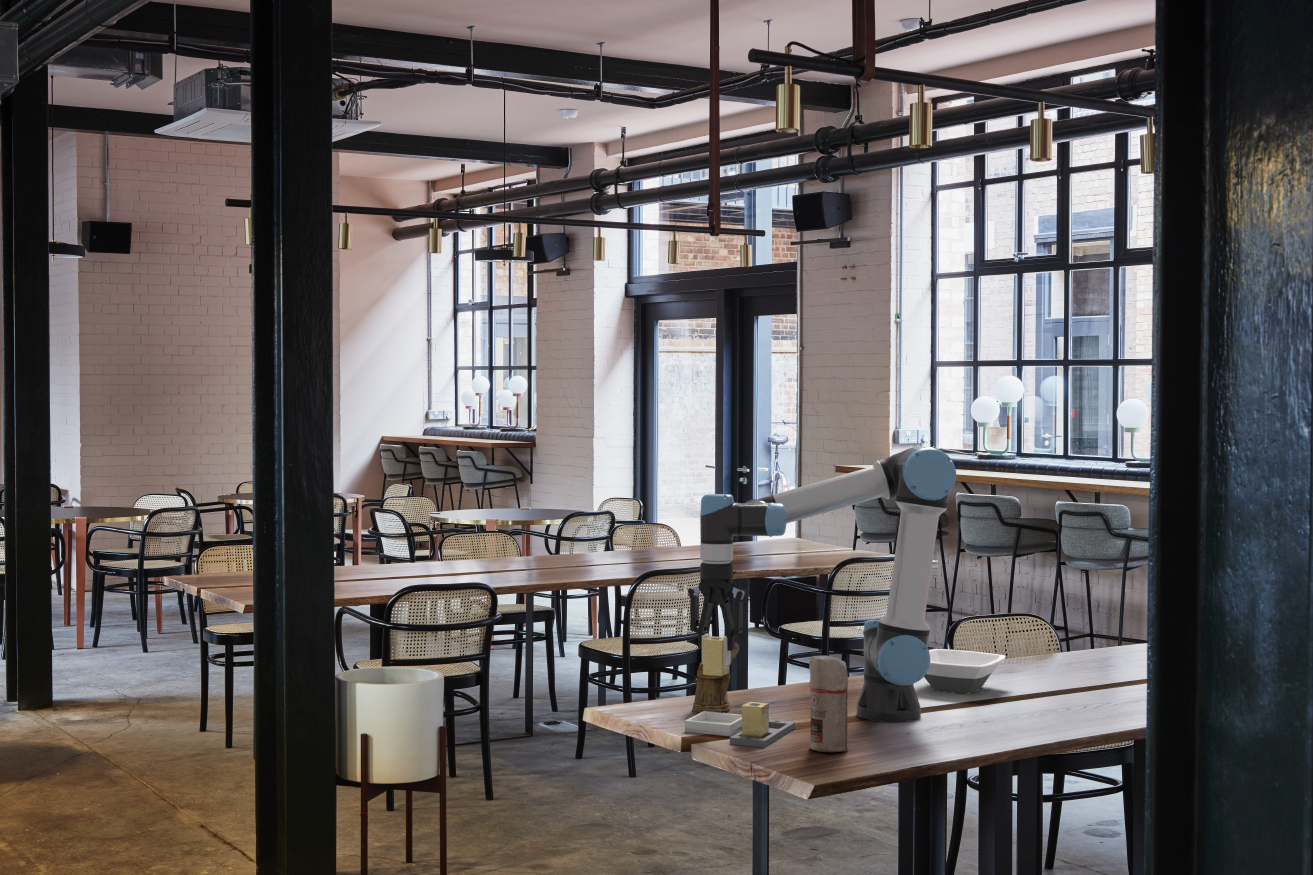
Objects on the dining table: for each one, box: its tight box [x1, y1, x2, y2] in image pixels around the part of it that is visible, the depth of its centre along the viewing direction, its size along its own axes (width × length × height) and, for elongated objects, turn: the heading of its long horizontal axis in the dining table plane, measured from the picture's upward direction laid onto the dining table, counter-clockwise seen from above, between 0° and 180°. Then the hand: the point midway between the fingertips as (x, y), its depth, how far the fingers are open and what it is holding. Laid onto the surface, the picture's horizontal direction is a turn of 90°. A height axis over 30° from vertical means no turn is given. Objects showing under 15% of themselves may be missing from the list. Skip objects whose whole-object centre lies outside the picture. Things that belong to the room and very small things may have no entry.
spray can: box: [808, 655, 849, 753], centre depth 272 cm, size 8×8×20 cm
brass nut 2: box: [741, 701, 770, 739], centre depth 280 cm, size 5×5×8 cm
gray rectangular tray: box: [729, 719, 796, 749], centre depth 284 cm, size 8×20×2 cm, turn 155°
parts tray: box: [684, 711, 742, 737], centre depth 291 cm, size 11×11×2 cm
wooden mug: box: [691, 641, 740, 714], centre depth 310 cm, size 9×14×18 cm, turn 36°
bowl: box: [923, 648, 1006, 694], centre depth 338 cm, size 22×23×8 cm
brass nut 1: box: [703, 635, 730, 676], centre depth 291 cm, size 5×5×8 cm
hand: (716, 663), depth 291 cm, fingers closed on brass nut 1, 5 cm apart
